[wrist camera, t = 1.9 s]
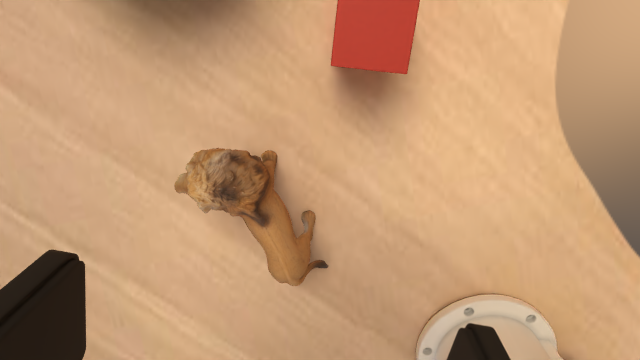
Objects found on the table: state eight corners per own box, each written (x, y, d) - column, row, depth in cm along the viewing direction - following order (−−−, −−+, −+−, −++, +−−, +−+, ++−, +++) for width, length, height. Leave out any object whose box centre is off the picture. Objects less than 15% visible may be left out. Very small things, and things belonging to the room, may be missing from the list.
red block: (401, -1, 29) (421, -10, 22) (390, 63, 31) (407, 74, 24) (338, -8, 29) (339, -19, 22) (331, 57, 31) (330, 65, 24)
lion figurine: (195, 149, 34) (148, 190, 25) (245, 111, 33) (213, 140, 24) (304, 277, 38) (295, 350, 29) (353, 247, 36) (359, 314, 28)
